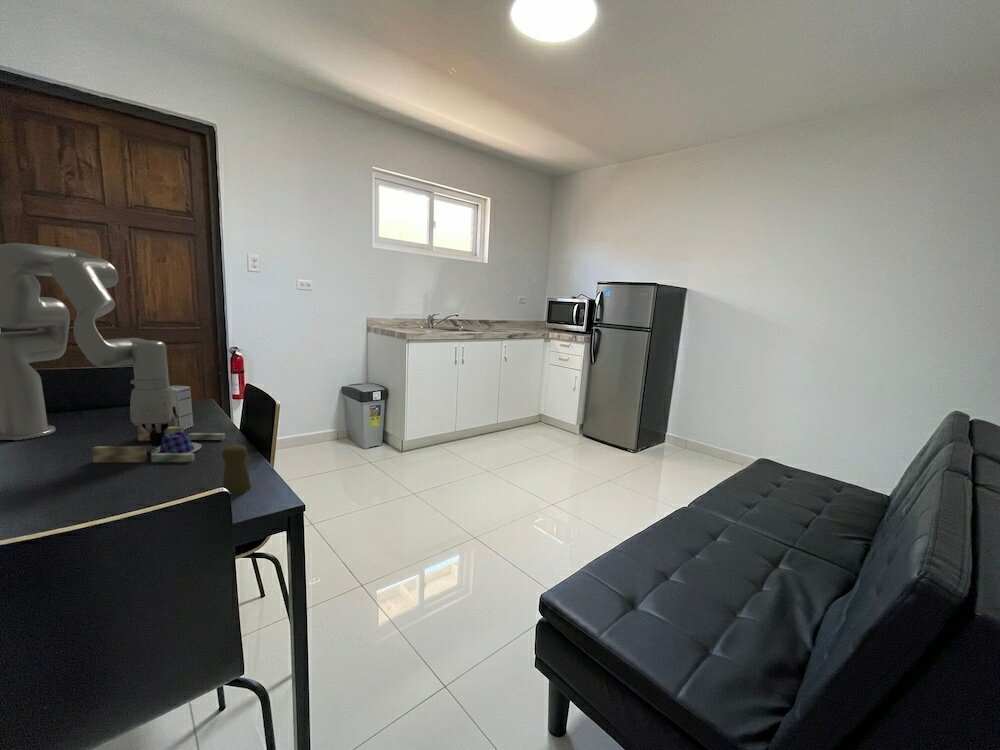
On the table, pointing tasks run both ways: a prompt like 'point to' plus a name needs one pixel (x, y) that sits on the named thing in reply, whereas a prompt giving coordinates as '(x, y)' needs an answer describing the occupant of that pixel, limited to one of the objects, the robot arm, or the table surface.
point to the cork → (235, 469)
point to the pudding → (177, 444)
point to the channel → (140, 451)
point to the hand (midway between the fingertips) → (158, 444)
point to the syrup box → (183, 406)
